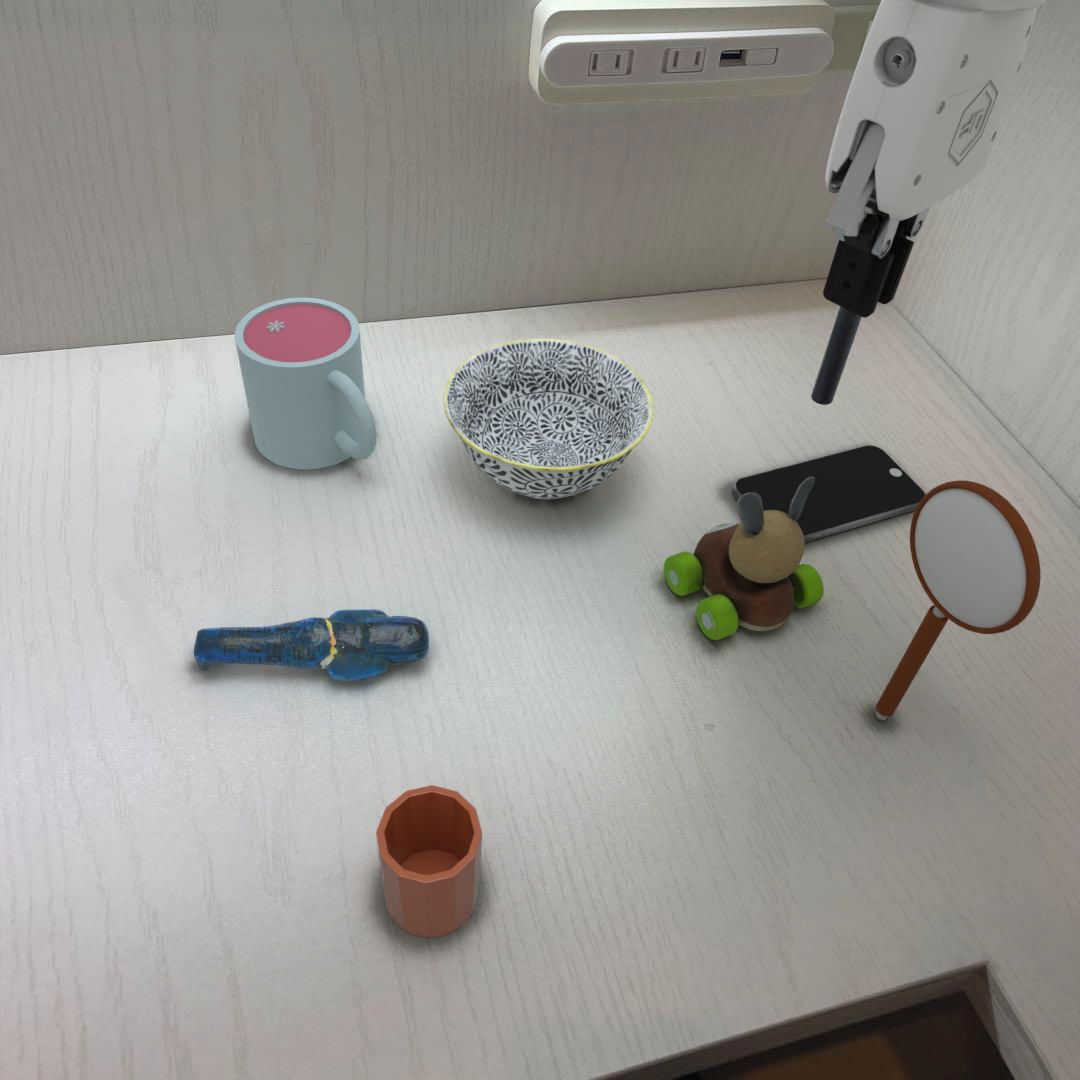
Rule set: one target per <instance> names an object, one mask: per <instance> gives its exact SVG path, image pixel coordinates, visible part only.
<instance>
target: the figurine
mask: <svg viewBox="0 0 1080 1080" xmlns="http://www.w3.org/2000/svg"><path fill="white" fill-rule="evenodd" d="M429 649H430V632H429V629H428V627H427V625H426V623H425V622H424V621H423V620H422V619H419V618H417V617H414V616H405V615H393V616H389V615H388V614H387V613H385V612H384V611H383V610H380V609H375V608H374V609H366V608H365V609H340V610H336V611H334V612H333V613H332V614H331V615H330V616H329V617H316V616H315V617H313V616H312V617H308V618H304V619H300V620H295V621H290V622H284V623H280V624H279V623H278V624H274V625H268V626H267V625H265V626H247V627H246V626H227V627H226V626H224V627H221V626H220V627H207V628H201V629H199V630H198V631H197V633H196V635H195V641H194V645H193V657H194V660H195V663H196V666H197V667H198V669H201V670H207V669H209V668H210V667H211V666H214V665H246V666H247V665H249V666H279V667H284V668H285V667H286V668H292V669H299V670H301V669H302V670H322V669H325V670H326V671H327V673H328V675H329V676H330V678H332V679H333V680H336V681H342V682H344V681H357V680H364V679H368V678H373V677H376V676H379V675H382V674H384V673H385V672H386V671H387V669H388V667H391V666H397V665H402V664H409V663H415V662H420V661H422V660H424V659H425V657H426V656H427V654H428V653H429Z"/></svg>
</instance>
